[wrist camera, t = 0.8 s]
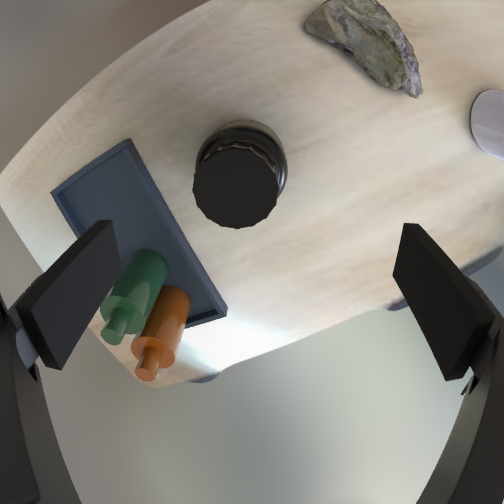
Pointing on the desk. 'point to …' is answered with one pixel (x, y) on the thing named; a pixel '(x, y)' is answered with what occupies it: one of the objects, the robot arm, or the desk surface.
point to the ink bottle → (240, 174)
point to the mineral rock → (369, 41)
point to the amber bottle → (161, 332)
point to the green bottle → (133, 295)
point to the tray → (137, 222)
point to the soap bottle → (489, 122)
